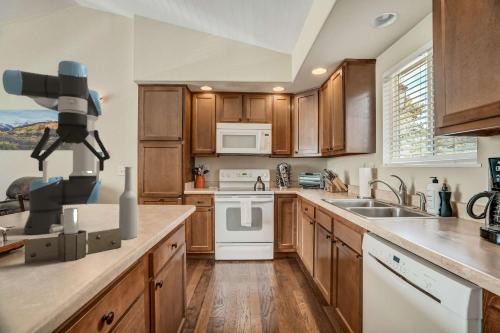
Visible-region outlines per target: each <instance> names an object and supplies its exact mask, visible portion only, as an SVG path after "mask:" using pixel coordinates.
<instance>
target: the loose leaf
mask: <svg viewBox="0 0 500 333" xmlns="http://www.w3.org/2000/svg"><path fill="white" fill-rule="evenodd" d="M118 248H122V239H121V228H119V227H118V228H111V229H104V230H99V231H98V230H97V231H92V232H87V254H93V253H98V252H104V251H108V250H113V249H118Z"/></svg>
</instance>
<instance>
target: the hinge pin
mask: <svg viewBox="0 0 500 333" xmlns="http://www.w3.org/2000/svg"><path fill="white" fill-rule="evenodd" d="M63 213H64V235H74V234H78V230H79V207H68V208H63Z"/></svg>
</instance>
